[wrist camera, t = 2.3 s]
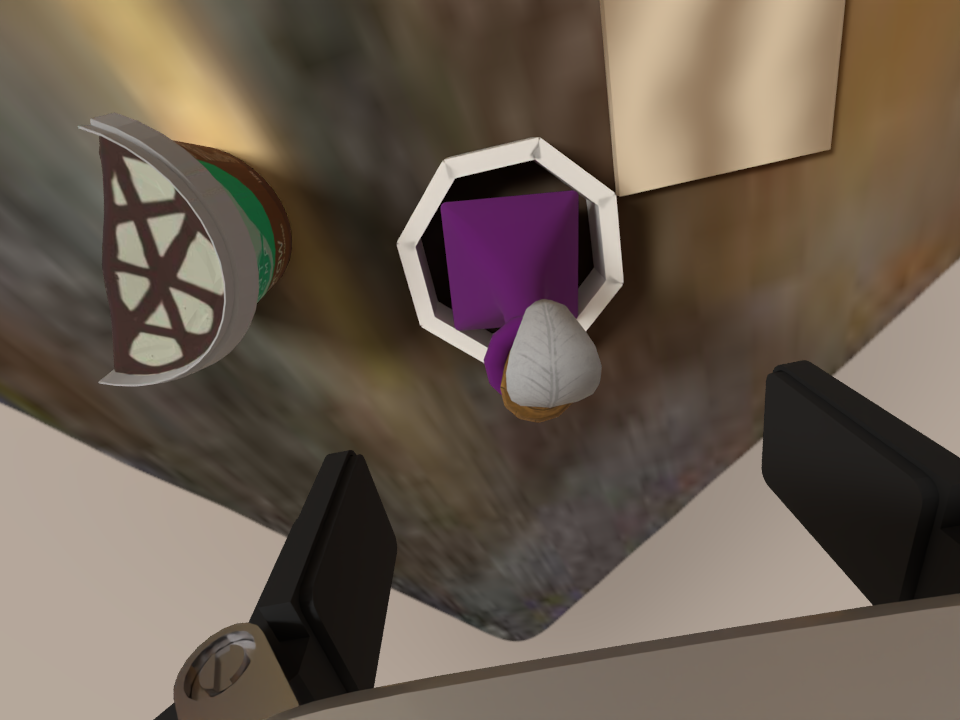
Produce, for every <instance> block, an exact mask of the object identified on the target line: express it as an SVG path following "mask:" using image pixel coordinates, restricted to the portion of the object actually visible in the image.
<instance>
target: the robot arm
mask: <svg viewBox="0 0 960 720" xmlns="http://www.w3.org/2000/svg"><path fill="white" fill-rule="evenodd" d="M762 474H763V477H764V480H765V482H766V483H767V485H768V486H769V487H770V488H771V490H772V491H773V492H774V493H775V494H776V495H777V496H778V497H779V499H780V500H781V501H782V502H783V503H784V504H785V506H786V507H787V508H788V509H789V510H790V511H791V512H792V513H793V514H794V516H795V517H796V518H797V519H798V520H799V521H800V523H801V524H802V525H803V526H804V527H805V528H806V529H807V531H808V532H809V533H810V534H811V535H812V536H813V537H814V538H815V540H816V541H817V542H818V543H819V544H820V545H821V546H822V548H823V549H824V550H825V551H826V552H827V553H828V554H829V556H830V557H831V558H832V559H833V560H834V561H835V562H836V564H837V565H838V566H839V567H840V568H841V569H842V570H843V571H844V572H845V574H846V575H847V576H848V577H849V578H850V579H851V580H852V582H853V583H854V584H855V585H856V586H857V587H858V589H859V590H860V591H861V592H862V593H863V594H864V595H865V597H866V598H867V599H868V600H869V601H870V602H871V603H872V605H873V606H867V607H860V608H854V609H848V610H841V611H835V612H829V613H822V614H816V615H809V616H803V617H796V618H790V619H784V620H778V621H771V622H764V623H758V624H752V625H746V626H739V627H732V628H726V629H720V630H714V631H708V632H702V633H695V634H689V635H683V636H677V637H671V638H664V639H658V640H652V641H646V642H639V643H634V644H627V645H621V646H615V647H609V648H603V649H597V650H591V651H584V652H578V653H573V654H566V655H560V656H554V657H548V658H542V659H537V660H530V661H525V662H518V663H513V664H506V665H500V666H495V667H489V668H483V669H477V670H471V671H465V672H459V673H453V674H447V675H441V676H435V677H430V678H425V679H419V680H414V681H409V682H403V683H398V684H393V685H387V686H382V687H376V688H374V683H375V677H376V671H377V665H378V660H379V654H380V648H381V642H382V636H383V630H384V625H385V619H386V612H387V606H388V601H389V595H390V590H391V584H392V578H393V572H394V566H395V560H396V554H397V542H396V537H395V534H394V532H393V529H392V527H391V524H390V522H389V519H388V517H387V514H386V512H385V509H384V507H383V504H382V502H381V499H380V497H379V494H378V492H377V489H376V487H375V484H374V482H373V479H372V476H371V474H370V471H369V469H368V466H367V464H366V461H365V459H364V457H363V456H362V455H361V454H359V455H356V454H355V452H354V451H352V450H348V451H343V452H338V453H333V454H329V455H327V456H326V457H325V459H324V462H323V464H322V466H321V468H320V471H319V473H318V475H317V477H316V480H315V482H314V484H313V486H312V488H311V491H310V493H309V495H308V497H307V500H306V502H305V504H304V506H303V508H302V511H301V513H300V515H299V517H298V519H296V521H295V523H294V524H293V526H292V528H291V530H290V533H289V535H288V537H287V539H286V542H285V544H284V546H283V548H282V550H281V553H280V555H279V557H278V559H277V561H276V563H275V566H274V568H273V570H272V572H271V574H270V577H269V579H268V581H267V584H266V585H265V588H264V590H263V592H262V594H261V596H260V599H259V601H258V603H257V605H256V607H255V610H254V612H253V614H252V616H251V619H250V621H249V623H239V624H234V625H232V626H229V627H227V628H224V629H222V630H220V631H219V632H217V633H216V634H214V635H212V636H210V637H209V638H208V639H207V640H206V641H205V642H203V643H202V644H201V645H200V646H199V647H198V648H197V649H196V650H195V651H194V652H193V653H192V654H191V656H190V657H189V658H188V659H187V660H186V662H185V664H184V665H183V667H182V668H181V670H180V672H179V673H178V676H177V679H176V682H175V685H174V703H173V704H172V705H171V706H170V707H168V708H167V709H166V710H165V711H164V712H162V713H161V714H160V715H159V716H158V717H156V718H155V719H154V720H960V458H959V457H958V456H956V455H955V454H953V453H952V452H950V451H948V450H947V449H945V448H944V447H942V446H941V445H939V444H937V443H936V442H934V441H933V440H931V439H930V438H928V437H927V436H925V435H923V434H922V433H920V432H919V431H917V430H916V429H914V428H912V427H911V426H909V425H908V424H906V423H905V422H903V421H901V420H900V419H898V418H897V417H895V416H893V415H892V414H890V413H889V412H887V411H886V410H884V409H882V408H881V407H879V406H878V405H876V404H875V403H873V402H872V401H870V400H869V399H867V398H865V397H864V396H862V395H861V394H859V393H858V392H856V391H854V390H853V389H851V388H850V387H848V386H847V385H845V384H844V383H842V382H840V381H839V380H837V379H836V378H834V377H833V376H831V375H829V374H828V373H826V372H825V371H823V370H822V369H820V368H819V367H817V366H815V365H814V364H812V363H811V362H809V361H806V360H804V361H798V362H793V363H788V364H782V365H778V366H776V367H775V368H774V370H773V373H771V374H769V375H768V376H767V379H766V393H765V413H764V432H763V452H762Z"/></svg>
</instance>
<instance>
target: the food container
mask: <svg viewBox="0 0 960 720" xmlns="http://www.w3.org/2000/svg"><path fill="white" fill-rule="evenodd" d="M90 121H91V125H78V128H80V129H83V130H86V131H88V132H91V133H94V134H97V135H99V142H100V147H99V155H100V159H101V164H102V172H103V188H104V226H103V245H102V269H103V275H104V282H105V288H106V293H107V298H108V302H109V307H110V314H111V321H112V336H113V352H114V370H113V371H111V372H110V373H109V374H108V375H106V376H105V377H104V378H103V379H101V380H100V381H99V383H101V384H108V385H115V386H142V385H151V384H157V383H165V382H169V381H172V380H176V379H180V378H183V377H185V376H187V375H190V374H192V373H194V372H197V371H199V370H201V369H203V368H205V367H208V366H210V365H212V364H214V363H216V362H217V361H219V360H220V359H222V358H223V357H224V356H226V355H227V354H229V353H230V352H231V351H232V350H233V349H234V348H235V346H236V345H237V344H238V343H239V342H240V341H241V340H242V338H243V337H244V335H245V333H246V332H247V330H248V328H249V327H250V324H251V322H252V319H253V316H254V314H255V311H256V306H257V303H258V302H259V300H260V299H261V298H262V297H263V296H264V295H265V294H266V293H267V292H268V291H269V290H270V289H271V288H272V287H273V285H274V284H275V283H276V282H277V281H278V280H279V279H280V278H281V277H282V276H283V274H284V271H285V269H286V267H287V265H288V262H289V260H290V255H291V250H292V236H291V229H290V224H289V221H288V218H287V214H286V212H285V210H284V208H283V206H282V203H281V201H280V200H279V198H278V197H277V195H276V194H275V192H274V190H273V189H272V188H271V187H270V186H269V184H268V183H267V182H266V181H265V180H264V179H263V178H262V177H261V176H260V175H259V174H258V173H257V172H256V171H255V170H254V169H253V168H251V167H250V166H248V165H247V164H245V163H244V162H243V161H241V160H239V159H238V158H236V157H234V156H232V155H230V154H228V153H226V152H223V151H220V150H217V149H214V148H211V147H205V146H200V145H195V144H189V143H184V142H178V141H173V140H171V139H169V138H168V137H166V136H165V135H164V134H162V133H160V132H158V131H156V130H154V129H152V128H150V127H149V126H147V125H145V124H143V123H141V122H139V121H137V120H134V119H131V118H128V117H126V116H123V115H120V114H117V113H111V114H107V115H103V116H99V117H95V118H91V119H90Z"/></svg>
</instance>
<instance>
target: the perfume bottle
mask: <svg viewBox="0 0 960 720" xmlns="http://www.w3.org/2000/svg"><path fill="white" fill-rule="evenodd" d="M441 217H442V225H443V233H444V242H445V250H446V259H447V267H448V276H449V284H450V292H451V301H452V309H453V318H454V326H455V328H456V330H459V331H465V330H476V329H488V328H499V327H501V328H500V329H499V330H498V331H496V332H495V333H494V334H493V335H492V337H491V340H490V343H489V346H488V349H487V352H486V354H485V357H484V364H485V368H486V372H487V376H488V380H489V383H490V385H491V386H492V387H493V388H494V389H495V390H497V391H498V392H499V393H500V394H501V395H502V397H503V401H504V405H505V407H506V408H507V409H509V410H510V411H511V412H512V413H513V414H514V415H515V416H516V417H518V418H519V419H522V420H527V421H533V422H538V423H539V422H542V421H546V420H549V419H553V418H556V417H558V416H559V415H561V414H562V413H563V412H564V411H565V410H566V409H567V408H568V407H569V406H570V405H571V404H572V403H573V402H577V401H580V400H582V399H584V398H586V397H588V396H589V395H591V394H593V393H594V391H595V390H596V388H597V386H598V385H599V383H600V377H601V367H602V366H601V363H600V360H599V356H598V353H597V350H596V347H595V345H594V343H593V342H592V340H591V339H590V337H589V336H588V334H587V333H586V331H585V330H584V328H583V327H582V326H581V325H580V323H579V322H578V321H577V317H578V193H577V191H574V190H572V191H561V192H550V193H539V194H529V195H518V196H507V197H497V198H486V199H475V200H465V201H454V202H444V203H443V204H441Z"/></svg>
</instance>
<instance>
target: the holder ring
mask: <svg viewBox="0 0 960 720" xmlns="http://www.w3.org/2000/svg"><path fill="white" fill-rule="evenodd" d="M531 160H533V161H534V162H536V163H537V164H538V165H540V166H541V167H542V168H544V169H545V170H547V171H548V172H549V173H551V174H552V175H554V176H555V177H556V178H558V179H559V180H560V181H562V182H563V183H565V184H566V185H567V186H569V187H570V188H571V189H573V190H574V191H577V193H578V194H580V195H581V196H583V197H584V198H585V199H586V201H587V209H588V218H589V227H590V236H591V245H592V254H593V263H594V268H593V270H592V271H591V272H590V274H589V275H588V276H587V278H586V279H585V280H584V282H583V283H582V284H581V286H580V287H579V288H578V317H577V321H578V322H579V323H580V325H581V326H582V327H583V328H584V330H585V331H587V329H588V328H589V327H590V326H591V324H592V323H593V322H594V321H595V319H596V318H597V317H598V316H599V314H600V313H601V312H602V310H603V309H604V308H605V307H606V305H607V304H608V303H609V302H610V300H611V299H612V298H613V297H614V295H615V294H616V293H617V292H618V290H619V289H620V288H621V286H622V285H623V284H622V283H624V281H623V269H622V257H621V245H620V234H619V222H618V210H617V198H616V195H615V193H614V192H613V191H612V190H610V189H609V188H608V187H606V186H605V185H604V184H602V183H601V182H599V181H598V180H597V179H595V178H594V177H593V176H591V175H590V174H589V173H587V172H586V171H585V170H583V169H582V168H581V167H579V166H578V165H577V164H575V163H574V162H572V161H571V160H570V159H568V158H567V157H566V156H564V155H563V154H562V153H560V152H559V151H558V150H556V149H555V148H554V147H552V146H551V145H550V144H548V143H547V142H546V141H544V140H543V139H541V138H538V137H531V138H527V139H523V140H519V141H515V142H510V143H506V144H502V145H498V146H494V147H489V148H485V149H481V150H477V151H473V152H468V153H464V154H460V155H456V156H452V157H447V158H446V159H445V160H443V161H442V163H441V165H440V166H439V168H438V170H437V172H436V173H435V175H434V177H433V179H432V181H431V182H430V184H429V186H428V188H427V189H426V191H425V193H424V195H423V197H422V198H421V200H420V202H419V204H418V206H417V207H416V209H415V211H414V213H413V214H412V216H411V218H410V220H409V222H408V223H407V225H406V227H405V229H404V230H403V232H402V234H401V236H400V238H399V239H398V241H397V248H398V251H399V255H400V258H401V262H402V265H403V268H404V272H405V275H406V279H407V282H408V286H409V289H410V292H411V296H412V299H413V303H414V306H415V310H416V313H417V316H418V320H419V323H420V325H422V328H424V329H426V330H427V331H429V332H431V333H433V334H434V335H436V336H438V337H440V338H441V339H443V340H445V341H447V342H448V343H450V344H452V345H454V346H455V347H457V348H459V349H461V350H462V351H464V352H466V353H468V354H469V355H471V356H473V357H475V358H476V359H478V360H480V361H482V362H483V363H484V357H485V354H486V352H487V349H488V346H489V343H490V340H491V337H492V335H493V334H494V333H490V332H489V331H487V330H485V329H476V330H465V331H459V330H456V328H455V326H454V318H453V310H452V309H450V308H448V307H447V306H445V305H443V304H442V303H440V302H438V300H437V296H436V293H435V289H434V285H433V281H432V278H431V274H430V270H429V266H428V263H427V259H426V255H425V251H424V248H423V244H422V240H421V236H422V235H423V233H424V231H425V229H426V228H427V226H428V224H429V222H430V221H431V219H432V217H433V216H434V214H435V212H436V210H437V209H438V207H439V205H440V203H441V202H442V200H443V198H444V197H445V195H446V193H447V191H448V190H449V188H450V186H451V185H452V183H453V181H454V179H455V178H458V177H462V176H467V175H471V174H475V173H480V172H484V171H488V170H492V169H497V168H501V167H505V166H509V165H514V164H518V163H522V162H526V161H531Z"/></svg>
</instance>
